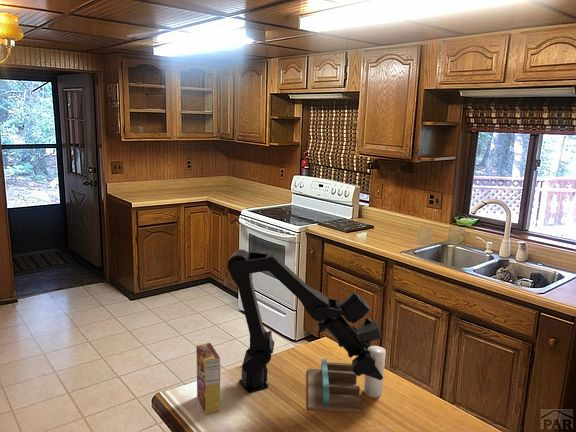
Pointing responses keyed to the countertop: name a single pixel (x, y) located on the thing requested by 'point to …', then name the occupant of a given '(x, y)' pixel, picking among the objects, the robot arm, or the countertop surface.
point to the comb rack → (333, 388)
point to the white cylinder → (372, 384)
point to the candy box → (208, 378)
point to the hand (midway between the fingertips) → (379, 371)
